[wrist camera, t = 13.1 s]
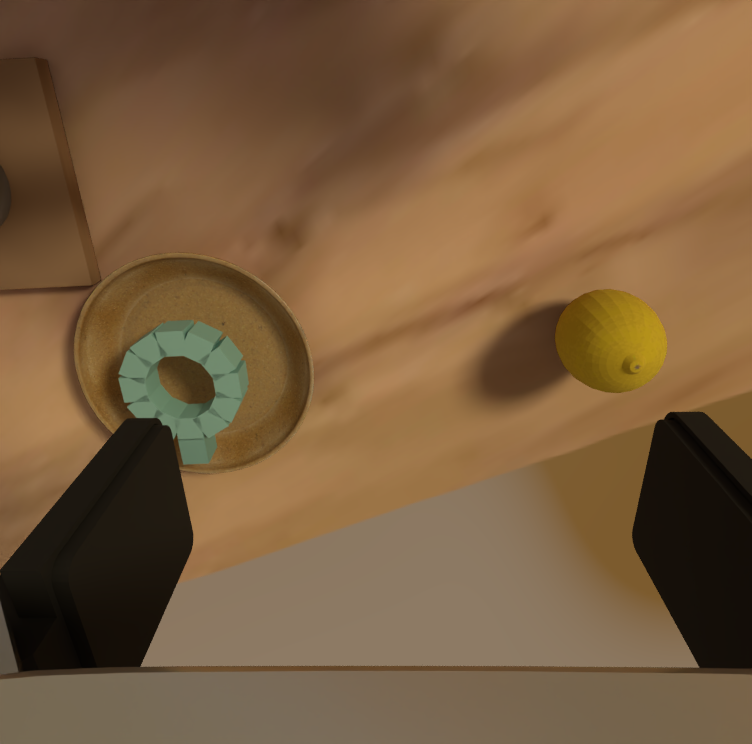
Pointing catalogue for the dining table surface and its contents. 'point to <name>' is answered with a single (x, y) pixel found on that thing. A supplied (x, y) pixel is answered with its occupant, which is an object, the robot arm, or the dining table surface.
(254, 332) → the plant saucer
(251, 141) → the dining table surface
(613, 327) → the lemon
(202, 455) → the ring
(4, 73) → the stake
